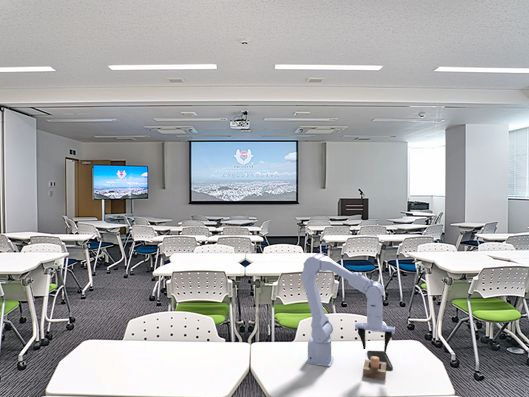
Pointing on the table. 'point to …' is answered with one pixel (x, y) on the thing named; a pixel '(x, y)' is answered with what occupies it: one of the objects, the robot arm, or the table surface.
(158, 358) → the table surface
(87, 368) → the table surface
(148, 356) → the table surface
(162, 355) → the table surface
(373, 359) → the peg
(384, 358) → the phone
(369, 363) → the socket block
